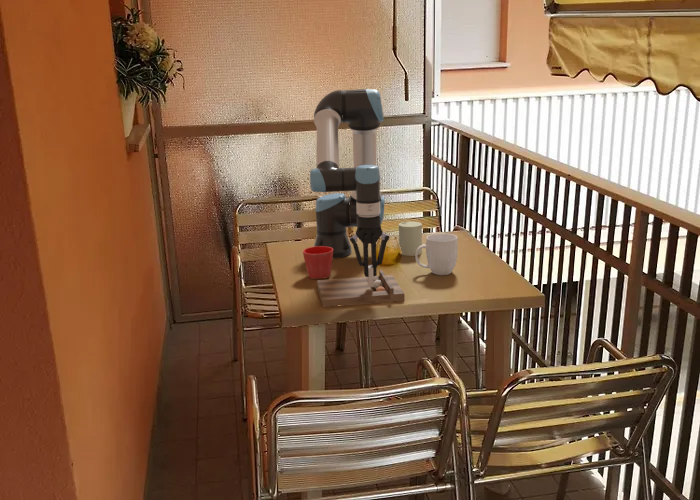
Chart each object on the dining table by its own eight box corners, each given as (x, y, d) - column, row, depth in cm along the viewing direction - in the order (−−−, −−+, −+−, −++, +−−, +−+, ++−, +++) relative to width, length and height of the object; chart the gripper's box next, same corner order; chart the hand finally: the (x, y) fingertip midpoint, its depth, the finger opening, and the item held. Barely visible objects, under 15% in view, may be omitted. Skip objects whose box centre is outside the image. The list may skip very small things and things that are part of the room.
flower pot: (299, 274, 262) (298, 248, 259) (328, 269, 266) (326, 244, 263) (310, 282, 252) (308, 255, 250) (339, 277, 256) (338, 251, 254)
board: (317, 287, 246) (316, 274, 245) (392, 281, 249) (392, 269, 248) (323, 307, 227) (322, 293, 226) (404, 300, 230) (404, 287, 229)
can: (406, 248, 290) (406, 219, 287) (426, 251, 285) (426, 221, 281) (394, 253, 283) (393, 224, 279) (414, 257, 277) (414, 226, 274)
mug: (417, 278, 252) (417, 242, 248) (413, 269, 262) (413, 234, 259) (460, 276, 252) (460, 240, 249) (454, 267, 263) (454, 232, 259)
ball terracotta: (373, 288, 236) (381, 283, 236) (377, 296, 237) (386, 291, 237) (374, 291, 233) (383, 286, 233) (379, 299, 234) (388, 294, 234)
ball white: (371, 280, 243) (380, 277, 243) (373, 288, 244) (382, 285, 244) (372, 283, 240) (381, 280, 240) (375, 292, 241) (384, 288, 241)
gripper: (349, 218, 224) (352, 291, 230) (391, 216, 225) (392, 287, 232) (346, 213, 231) (349, 283, 237) (386, 210, 232) (388, 280, 239)
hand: (370, 285), depth 234 cm, fingers closed
